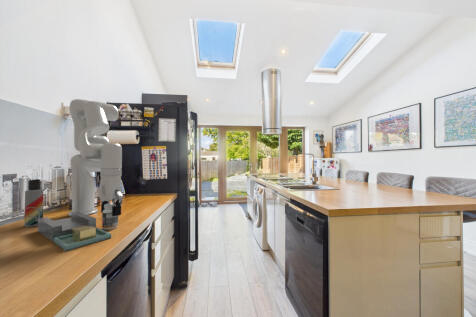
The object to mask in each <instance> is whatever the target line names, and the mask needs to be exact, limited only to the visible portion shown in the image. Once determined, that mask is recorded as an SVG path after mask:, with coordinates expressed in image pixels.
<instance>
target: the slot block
mask: <svg viewBox="0 0 476 317" xmlns="http://www.w3.org/2000/svg"><path fill="white" fill-rule="evenodd" d="M82 226H89V227H90V226H93V227H95V228H97V218H96V217H94V216H90V215H86V214H83V213H80V212H73V213H71V216H70V217H66V218H61V219H56V220H55V219H54V220H53V219H51V218H49V217H47V216H43V218H38V226H37V232H38V233H40V234H41V235H43V236H44V237H45V238H47V239H48V240H49V241H50V242H53V239H54V238H55V237H60V236H64V235H68V234H72V229H73V228H78V227H82ZM53 243H54V242H53Z"/></svg>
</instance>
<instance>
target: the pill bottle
mask: <svg viewBox="0 0 476 317" xmlns="http://www.w3.org/2000/svg"><path fill="white" fill-rule="evenodd" d="M112 206H113V203H112V202H110V203H108V204H105V205H104V208H105V210H103V212H102V213H101V217H102V218H101V219H102V220H101V221H102V222H101V228H102V230H104V231H110V230H111V231H112V230H115V229H117V228H118V227H119V215H118V216H114V217H113V216H112Z"/></svg>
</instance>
